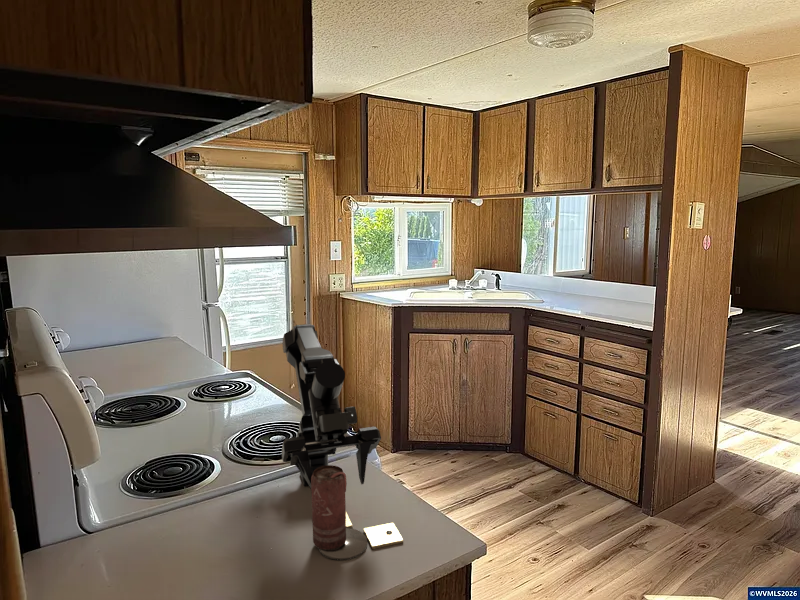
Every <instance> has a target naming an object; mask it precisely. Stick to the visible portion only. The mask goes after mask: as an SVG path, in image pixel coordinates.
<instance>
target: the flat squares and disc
mask: <svg viewBox="0 0 800 600" xmlns="http://www.w3.org/2000/svg"><path fill="white" fill-rule="evenodd" d="M368 543H369V545H370V547H371V549H372V550H375V549H380V548H386V547H389V546H394V545H398V544H399V545H400V544H403V543H404V539H403V537H402V535H401V534H400V532H399V530H398V528H397V527H396V524H395V523H394V522H390V523H385V524H379V525H375V526H369V527H364V528H363V532H362V531H360V530H357V529H355V528H353V524H352V522H351V519H350V518H349V514H348V513H347V511H346V541H345V543H344V544H343V546H341V547H340V548H339V549H337V550H333V551H323V550H320V549H318V551H319V553H320V554H321V555H322V556H323V557H325V558H326V559H329V560H334V561H347V560H348V561H349V560H352V559H355V558H357V557H359V556H362V554H363V553H364V552H365V551H366V550H367V547H368Z"/></svg>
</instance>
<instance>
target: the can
mask: <svg viewBox="0 0 800 600" xmlns="http://www.w3.org/2000/svg"><path fill="white" fill-rule="evenodd" d="M347 484H348V483H347V475H346V473H345V472H344V471H343V468H341V467H340V466H337V465H333V464H331V465H329V464H328V465H326V466H321V467H319V468H317V469H315V470H314V472H313V474H312V476H311V488H310V490H311V519H312V520H311V522H312V542H313V544H314V546H315V547H316V548H317V549H318V550H319V549H320V550H323V551H333V550H337V549H339V548H340V547H341V546H343V544H344V543H345V541H346V512H347V511H346V508H347V506H346V504H347V503H346V492H347Z"/></svg>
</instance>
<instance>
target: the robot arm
mask: <svg viewBox="0 0 800 600" xmlns="http://www.w3.org/2000/svg"><path fill="white" fill-rule="evenodd" d="M318 334H319V333H318V331H317V330H316V327H315V325H314V324H311V323H308V324H307V323H306V324H305V323H304V324H295V325H294V326H292V329H290V330H289V331H287V332H286V333H284V334H283V338H282V352H283V353H284V354H285V356H286V361H287V362H288V364H290V365H291V366H292V367H293V368H294V371H295V376H296V382H297V389H298V395H299V401H300V406H301V413H302V416H301V419H300V421H299V426H298V427H299V428H298V433H296V436H295V437H286V438H285V439H284V440H283V441H282V444H281V445H282V446H281V447H282V448H281V459H282V463H283V462H284V463H289V465H290V466H295V467H296V468H297V470H298V471H299V475H300V478H301V482H302V484H303V486H304V487H309V489H311V476H312V474H313V472H314V470H315V469H317V468H319V467H321V466H326V465H329V456H330V455H333V456H334V455H336V452H337V449H339V448H346V447H353V446H355V448H356V449H357V450H356V453H355V455H356V463H357V471H358V478H359V481H360V482H359V483H360V485H364V484H365V478H366V469H367V461H368V458H369V457H368V456H369V455H370V454H372V451H373V450H374V449H376V448H378V446H379V443H380V441H381V440H382V436H381V431H380V430H379V429H378V427H376V426H369V427H362V428H358V430H357V432H356V434H354V435H347V436H346V434H348V432H349V431H348V430H349V429H350V427H349V425H352V424H353V425H354V424H357V423H358V414H357V410H356V406H347V407H344V412H343V411H342V410H341V409H342V408H341V407H340V402H339V395H340V393H341V391H342V388H343V384H344V381H345V379H346V372H345V370H344V368H343V366H341V364H340V363H339V362H338V359H337V358H335V357H334V355H333V353H332V352H331V351H330V350H329V349H325V348H323V347H322V346H321V342H320V341H319V335H318Z"/></svg>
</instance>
